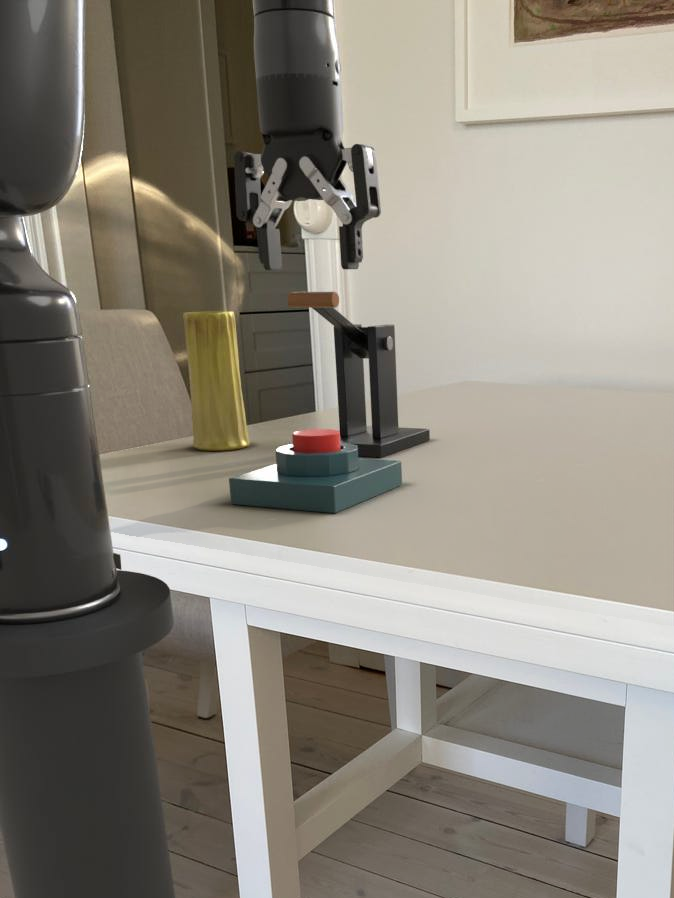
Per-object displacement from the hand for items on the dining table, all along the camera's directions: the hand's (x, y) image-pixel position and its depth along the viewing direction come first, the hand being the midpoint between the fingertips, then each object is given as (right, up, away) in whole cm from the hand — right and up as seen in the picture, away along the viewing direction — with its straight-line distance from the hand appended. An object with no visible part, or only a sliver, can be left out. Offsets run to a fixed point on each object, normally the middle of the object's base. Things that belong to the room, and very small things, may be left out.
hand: (311, 269), depth 95 cm
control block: (+2, -23, -9) cm, 24 cm away
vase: (-13, -14, +16) cm, 25 cm away
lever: (+2, -4, +6) cm, 8 cm away
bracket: (+4, -14, +15) cm, 21 cm away
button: (+2, -19, -10) cm, 22 cm away
